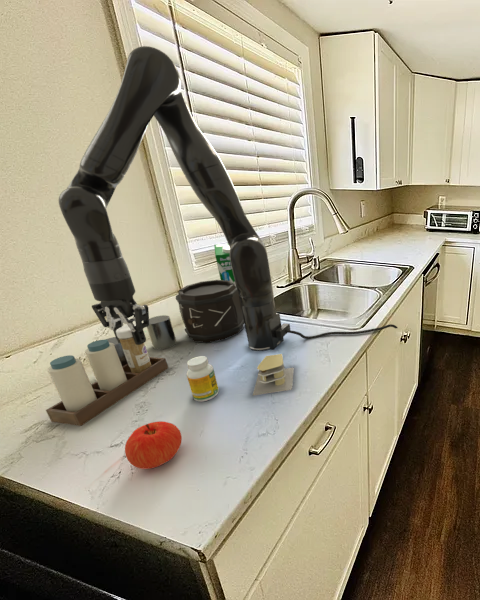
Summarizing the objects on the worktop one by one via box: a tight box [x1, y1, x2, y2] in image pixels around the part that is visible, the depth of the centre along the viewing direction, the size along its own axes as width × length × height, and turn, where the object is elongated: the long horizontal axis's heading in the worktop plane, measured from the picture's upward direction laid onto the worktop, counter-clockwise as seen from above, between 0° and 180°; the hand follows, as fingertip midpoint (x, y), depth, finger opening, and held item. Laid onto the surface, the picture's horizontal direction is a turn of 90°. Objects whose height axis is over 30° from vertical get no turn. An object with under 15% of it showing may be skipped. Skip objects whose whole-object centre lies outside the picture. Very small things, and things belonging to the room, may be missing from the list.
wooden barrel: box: [175, 279, 245, 344], centre depth 106 cm, size 18×18×16 cm
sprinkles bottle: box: [116, 323, 152, 373], centre depth 82 cm, size 5×5×14 cm
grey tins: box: [104, 314, 178, 366], centre depth 92 cm, size 6×20×9 cm, turn 170°
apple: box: [124, 420, 183, 470], centre depth 59 cm, size 8×8×8 cm
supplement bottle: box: [186, 355, 220, 403], centre depth 76 cm, size 5×5×10 cm
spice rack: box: [45, 356, 169, 427], centre depth 78 cm, size 8×22×4 cm, turn 170°
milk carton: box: [213, 242, 236, 286], centre depth 123 cm, size 9×9×25 cm
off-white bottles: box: [47, 339, 127, 412], centre depth 73 cm, size 5×12×13 cm, turn 170°
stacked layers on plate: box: [252, 353, 295, 397], centre depth 81 cm, size 10×9×6 cm
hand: (132, 342), depth 81 cm, fingers closed on sprinkles bottle, 4 cm apart
